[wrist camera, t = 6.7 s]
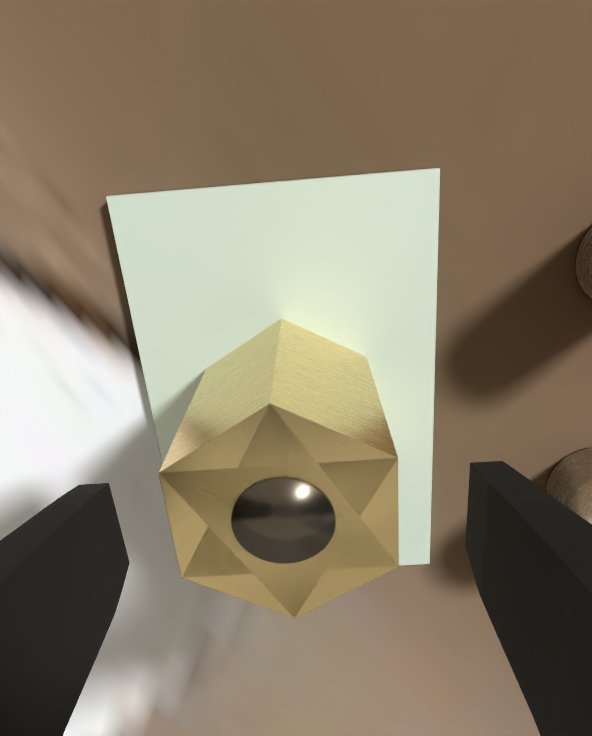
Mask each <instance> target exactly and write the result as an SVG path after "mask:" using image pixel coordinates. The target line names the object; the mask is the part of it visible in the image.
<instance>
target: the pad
mask: <svg viewBox="0 0 592 736" xmlns="http://www.w3.org/2000/svg"><path fill="white" fill-rule="evenodd" d="M439 185H440V168H432V169H420V170H408V171H396V172H384V173H373V174H361V175H349V176H337V177H325V178H314V179H302V180H290V181H278V182H266V183H254V184H243V185H231V186H219V187H207V188H195V189H184V190H172V191H160V192H148V193H136V194H125V195H113V196H107V197H106V199H107V203H108V208H109V213H110V218H111V222H112V227H113V232H114V236H115V241H116V246H117V251H118V255H119V260H120V265H121V269H122V274H123V279H124V284H125V288H126V293H127V298H128V303H129V307H130V312H131V317H132V321H133V326H134V331H135V336H136V340H137V345H138V350H139V354H140V359H141V364H142V369H143V373H144V378H145V383H146V387H147V392H148V397H149V402H150V406H151V411H152V416H153V421H154V425H155V430H156V435H157V439H158V444H159V449H160V454H161V458H162V463H163V462H164V460H165V458H166V455H167V453H168V451H169V449H170V447H171V444H172V442H173V440H174V438H175V436H176V433H177V431H178V429H179V427H180V425H181V423H182V420H183V418H184V416H185V414H186V412H187V409H188V407H189V405H190V403H191V401H192V399H193V396H194V394H195V392H196V390H197V388H198V385H199V383H200V381H201V379H202V377H203V374H204V372H205V370H206V368H208V367H209V366H211V365H212V364H214V363H215V362H217V361H218V360H220V359H221V358H223V357H224V356H226V355H227V354H229V353H230V352H232V351H233V350H235V349H236V348H238V347H239V346H241V345H242V344H244V343H245V342H247V341H248V340H250V339H251V338H253V337H254V336H256V335H257V334H259V333H260V332H262V331H263V330H265V329H266V328H268V327H269V326H271V325H272V324H274V323H275V322H277V321H278V320H280V319H281V318H282V319H284V320H287V321H289V322H291V323H293V324H295V325H298V326H300V327H302V328H304V329H306V330H309V331H311V332H313V333H315V334H317V335H320V336H322V337H324V338H326V339H328V340H331V341H333V342H335V343H337V344H339V345H341V346H344V347H346V348H348V349H350V350H352V351H355V352H357V353H359V354H361V355H363V356H366V357H367V360H368V363H369V366H370V369H371V373H372V376H373V379H374V382H375V385H376V389H377V392H378V395H379V398H380V401H381V405H382V408H383V411H384V414H385V417H386V421H387V424H388V427H389V430H390V433H391V437H392V440H393V443H394V446H395V449H396V453H397V456H398V514H399V565H414V564H430V528H431V490H432V452H433V414H434V376H435V337H436V299H437V261H438V223H439Z"/></svg>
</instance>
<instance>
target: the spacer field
mask: <svg viewBox="0 0 592 736" xmlns="http://www.w3.org/2000/svg"><path fill="white" fill-rule="evenodd" d="M575 267H576V275H577V279H578V282H579V284H580V286H581V288H582V289H583V291H584V292H585V293H586V294H587V295H588V296H589V297H591V298H592V227H591V228H590V229H589V231H588V232H587V233H586V235H585V236H584V238H583V240H582V242H581V244H580V246H579V249H578V252H577V257H576V265H575ZM546 492H547V493H548V494H549V495H551V496H552V497H554V498H555V499H556V500H558V501H559V502H561V503H562V504H563V505H565V506H566V507H568V508H569V509H570V510H572V511H573V512H575V513H576V514H578V515H579V516H580V517H582V518H583V519H585V520H586V521H588V522H589V523H591V524H592V448H587V449H583V450H580V451H577V452H575V453H572V454H571V455H569V456H567V457H566V458H564V459H563V460H562V461H561V462H560V463H558V465H557V466H556V467H555V468H554V469H553V471H552V472H551V474H550V476H549V478H548V481H547V486H546Z"/></svg>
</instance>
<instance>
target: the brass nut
mask: <svg viewBox="0 0 592 736" xmlns="http://www.w3.org/2000/svg"><path fill="white" fill-rule="evenodd" d="M159 477H160V482H161V486H162V491H163V496H164V500H165V505H166V509H167V514H168V518H169V523H170V527H171V532H172V536H173V541H174V545H175V550H176V554H177V559H178V564H179V568H180V573H181V577H182V578H184V579H186V580H189V581H192V582H195V583H198V584H200V585H203V586H206V587H209V588H212V589H214V590H217V591H220V592H223V593H225V594H228V595H231V596H234V597H237V598H239V599H242V600H245V601H248V602H251V603H253V604H256V605H259V606H262V607H265V608H267V609H270V610H273V611H276V612H278V613H281V614H284V615H287V616H290V617H292V618H296V617H298V616H300V615H302V614H304V613H306V612H308V611H310V610H312V609H314V608H316V607H318V606H320V605H322V604H324V603H326V602H328V601H330V600H332V599H334V598H336V597H338V596H340V595H342V594H344V593H346V592H348V591H350V590H352V589H354V588H356V587H358V586H360V585H362V584H364V583H366V582H368V581H370V580H372V579H374V578H376V577H378V576H380V575H382V574H384V573H386V572H388V571H390V570H392V569H394V568H396V567H398V566H399V514H398V456H397V453H396V449H395V446H394V443H393V440H392V437H391V433H390V430H389V427H388V424H387V421H386V417H385V414H384V411H383V408H382V405H381V401H380V398H379V395H378V392H377V389H376V385H375V382H374V379H373V376H372V373H371V369H370V366H369V363H368V360H367V357H366V356H363V355H361V354H359V353H357V352H355V351H352V350H350V349H348V348H346V347H344V346H341V345H339V344H337V343H335V342H333V341H331V340H328V339H326V338H324V337H322V336H320V335H317V334H315V333H313V332H311V331H309V330H306V329H304V328H302V327H300V326H298V325H295V324H293V323H291V322H289V321H287V320H284V319H282V318H281V319H280V320H278V321H277V322H275V323H274V324H272V325H271V326H269V327H268V328H266V329H265V330H263V331H262V332H260V333H259V334H257V335H256V336H254V337H253V338H251V339H250V340H248V341H247V342H245V343H244V344H242V345H241V346H239V347H238V348H236V349H235V350H233V351H232V352H230V353H229V354H227V355H226V356H224V357H223V358H221V359H220V360H218V361H217V362H215V363H214V364H212V365H211V366H209V367H208V368H206V370H205V372H204V374H203V377H202V379H201V381H200V383H199V385H198V388H197V390H196V392H195V394H194V396H193V399H192V401H191V403H190V405H189V407H188V409H187V412H186V414H185V416H184V418H183V420H182V423H181V425H180V427H179V429H178V431H177V433H176V436H175V438H174V440H173V442H172V444H171V447H170V449H169V451H168V453H167V455H166V458H165V460H164V462H163V464H162V466H161V468H160V471H159Z"/></svg>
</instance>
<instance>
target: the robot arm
mask: <svg viewBox="0 0 592 736" xmlns="http://www.w3.org/2000/svg"><path fill="white" fill-rule="evenodd" d="M466 550H467V553H468V557H469V560H470V564H471V567H472V571H473V574H474V577H475V580H476V584H477V587H478V590H479V593H480V596H481V598H482V601H483V603H484V606H485V608H486V610H487V613H488V615H489V617H490V619H491V622H492V624H493V626H494V629H495V631H496V633H497V636H498V638H499V640H500V642H501V645H502V647H503V649H504V652H505V654H506V656H507V658H508V661H509V663H510V665H511V667H512V670H513V672H514V674H515V676H516V679H517V681H518V683H519V686H520V688H521V690H522V692H523V695H524V697H525V699H526V701H527V704H528V706H529V708H530V710H531V713H532V715H533V718H534V720H535V723H536V725H537V728H538V730H539V733H540V735H541V736H592V524H591V523H589V522H588V521H586V520H585V519H583V518H582V517H580V516H579V515H578V514H576V513H575V512H573V511H572V510H570V509H569V508H568V507H566V506H565V505H563V504H562V503H561V502H559V501H558V500H556V499H555V498H554V497H552V496H551V495H549V494H548V493H547V492H545V491H544V490H542V489H541V488H540V487H538V486H537V485H536V484H534V483H533V482H531V481H530V480H529V479H527V478H526V477H525V476H523V475H522V474H520V473H519V472H518V471H516V470H515V469H513V468H512V467H510V466H509V465H507V464H506V463H504V462H503V461H494V462H476V463H470V477H469V494H468V511H467V528H466ZM128 566H129V559H128V555H127V551H126V548H125V544H124V540H123V536H122V532H121V528H120V525H119V521H118V517H117V513H116V509H115V505H114V502H113V498H112V494H111V490H110V486H109V483H103V484H86V485H78V486H77V487H75V488H73V489H72V490H70V491H69V492H67V493H66V494H64V495H63V496H61V497H60V498H58V499H57V500H56V501H54V502H53V503H51V504H50V505H49V506H47V507H46V508H44V509H43V510H42V511H40V512H39V513H38V514H36V515H35V516H34V517H32V518H31V519H29V520H28V521H27V522H25V523H24V524H23V525H21V526H20V527H18V528H17V529H16V530H14V531H13V532H12V533H10V534H9V535H7V536H6V537H5V538H3V539H2V540H1V541H0V736H63V733H64V731H65V728H66V726H67V724H68V722H69V719H70V717H71V715H72V712H73V710H74V708H75V705H76V703H77V701H78V698H79V696H80V694H81V691H82V689H83V687H84V685H85V682H86V680H87V678H88V675H89V673H90V671H91V668H92V666H93V664H94V661H95V659H96V657H97V655H98V652H99V650H100V647H101V645H102V643H103V640H104V638H105V636H106V633H107V631H108V629H109V626H110V624H111V621H112V619H113V616H114V614H115V612H116V608H117V605H118V602H119V598H120V595H121V592H122V588H123V585H124V581H125V577H126V573H127V570H128Z"/></svg>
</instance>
